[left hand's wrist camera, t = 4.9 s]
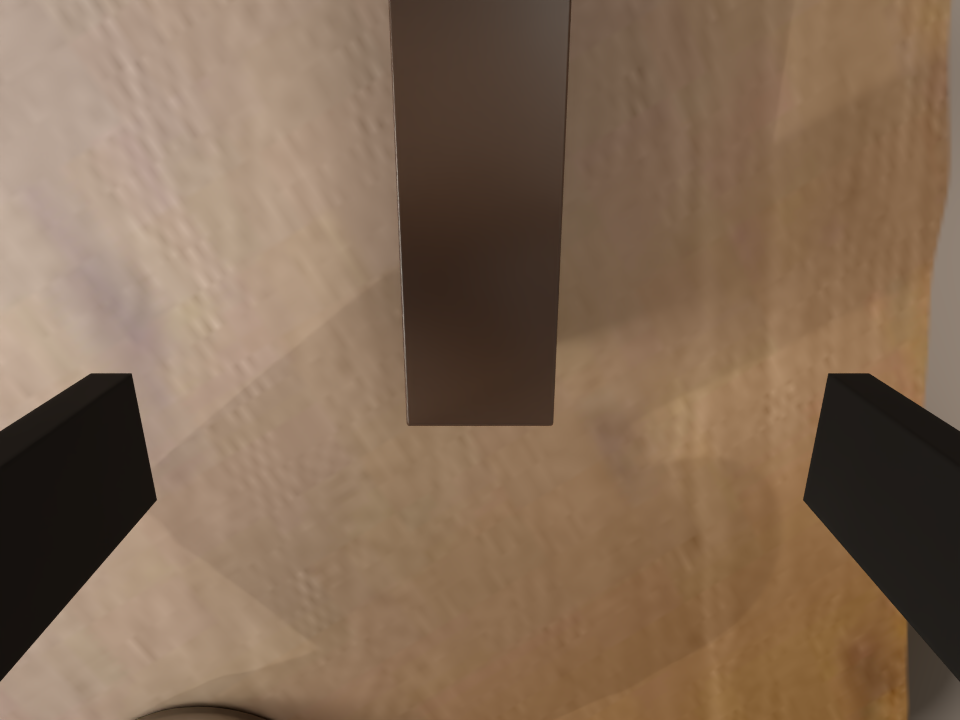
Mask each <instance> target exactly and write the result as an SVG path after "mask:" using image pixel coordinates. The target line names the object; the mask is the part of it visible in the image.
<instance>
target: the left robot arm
mask: <svg viewBox="0 0 960 720" xmlns="http://www.w3.org/2000/svg"><path fill="white" fill-rule="evenodd" d="M156 500H157V498H156V493H155V488H154V483H153V478H152V473H151V468H150V463H149V458H148V453H147V448H146V443H145V438H144V433H143V428H142V423H141V418H140V413H139V408H138V403H137V398H136V393H135V388H134V383H133V378H132V373H91V374H89V375H88V376H86V377H85V378H83V379H82V380H80V381H78V382H77V383H75V384H74V385H72V386H71V387H69V388H67V389H66V390H64V391H63V392H61V393H60V394H58V395H56V396H55V397H53V398H52V399H50V400H49V401H47V402H45V403H44V404H42V405H41V406H39V407H38V408H36V409H34V410H33V411H31V412H30V413H28V414H27V415H25V416H24V417H22V418H20V419H19V420H17V421H16V422H14V423H13V424H11V425H9V426H8V427H6V428H5V429H3V430H2V431H0V681H1V680H2V679H3V678H4V677H5V676H6V674H7V673H8V672H9V671H10V670H11V669H12V667H13V666H14V665H15V664H16V663H17V662H18V660H19V659H20V658H21V657H22V656H23V655H24V653H25V652H26V651H27V650H28V649H29V648H30V647H31V645H32V644H33V643H34V642H35V641H36V640H37V638H38V637H39V636H40V635H41V634H42V633H43V631H44V630H45V629H46V628H47V627H48V626H49V625H50V623H51V622H52V621H53V620H54V619H55V618H56V616H57V615H58V614H59V613H60V612H61V611H62V609H63V608H64V607H65V606H66V605H67V604H68V602H69V601H70V600H71V599H72V598H73V597H74V596H75V594H76V593H77V592H78V591H79V590H80V589H81V587H82V586H83V585H84V584H85V583H86V582H87V580H88V579H89V578H90V577H91V576H92V575H93V573H94V572H95V571H96V570H97V569H98V568H99V567H100V565H101V564H102V563H103V562H104V561H105V560H106V558H107V557H108V556H109V555H110V554H111V553H112V551H113V550H114V549H115V548H116V547H117V546H118V544H119V543H120V542H121V541H122V540H123V539H124V538H125V536H126V535H127V534H128V533H129V532H130V531H131V529H132V528H133V527H134V526H135V525H136V524H137V522H138V521H139V520H140V519H141V518H142V517H143V516H144V514H145V513H146V512H147V511H148V510H149V509H150V507H151V506H152V505H153V504H154V503H155V502H156ZM803 500H804V502H805V503H806V504H807V505H808V506H809V507H810V509H811V510H812V511H813V512H814V513H815V514H816V516H817V517H818V518H819V519H820V520H821V521H822V522H823V524H824V525H825V526H826V527H827V528H828V529H829V531H830V532H831V533H832V534H833V535H834V536H835V538H836V539H837V540H838V541H839V542H840V543H841V544H842V546H843V547H844V548H845V549H846V550H847V551H848V553H849V554H850V555H851V556H852V557H853V558H854V560H855V561H856V562H857V563H858V564H859V565H860V567H861V568H862V569H863V570H864V571H865V572H866V573H867V575H868V576H869V577H870V578H871V579H872V580H873V582H874V583H875V584H876V585H877V586H878V587H879V589H880V590H881V591H882V592H883V593H884V594H885V596H886V597H887V598H888V599H889V600H890V601H891V602H892V604H893V605H894V606H895V607H896V608H897V609H898V611H899V612H900V613H901V614H902V615H903V616H904V618H905V619H906V620H907V621H908V622H909V623H910V625H911V626H912V627H913V628H914V629H915V630H916V631H917V633H918V634H919V635H920V636H921V637H922V638H923V640H924V641H925V642H926V643H927V644H928V645H929V647H930V648H931V649H932V650H933V651H934V652H935V653H936V655H937V656H938V657H939V658H940V659H941V660H942V662H943V663H944V664H945V665H946V666H947V667H948V669H949V670H950V671H951V672H952V673H953V674H954V676H955V677H956V678H957V679H958V680H959V681H960V431H958V430H957V429H955V428H954V427H952V426H951V425H949V424H947V423H946V422H944V421H943V420H941V419H940V418H938V417H936V416H935V415H933V414H932V413H930V412H929V411H927V410H926V409H924V408H922V407H921V406H919V405H918V404H916V403H915V402H913V401H911V400H910V399H908V398H907V397H905V396H904V395H902V394H900V393H899V392H897V391H896V390H894V389H893V388H891V387H889V386H888V385H886V384H885V383H883V382H882V381H880V380H878V379H877V378H875V377H874V376H872V375H871V374H869V373H828V378H827V383H826V388H825V393H824V398H823V403H822V408H821V413H820V418H819V423H818V428H817V433H816V438H815V443H814V448H813V453H812V458H811V463H810V468H809V473H808V478H807V483H806V488H805V493H804V498H803ZM136 720H266V719H263V718H260V717H257V716H254V715H251V714H248V713H244V712H240V711H235V710H230V709H224V708H214V707H183V708H174V709H168V710H163V711H159V712H155V713H152V714H149V715H146V716H143V717H141V718H138V719H136Z"/></svg>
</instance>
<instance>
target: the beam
mask: <svg viewBox="0 0 960 720" xmlns="http://www.w3.org/2000/svg"><path fill="white" fill-rule="evenodd" d="M389 20H390V43H391V67H392V90H393V113H394V136H395V159H396V183H397V206H398V229H399V252H400V276H401V299H402V322H403V345H404V368H405V392H406V415H407V425H409V426H551V425H553V415H554V392H555V369H556V346H557V322H558V299H559V276H560V253H561V230H562V206H563V183H564V160H565V137H566V113H567V90H568V67H569V44H570V21H571V0H389Z"/></svg>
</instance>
